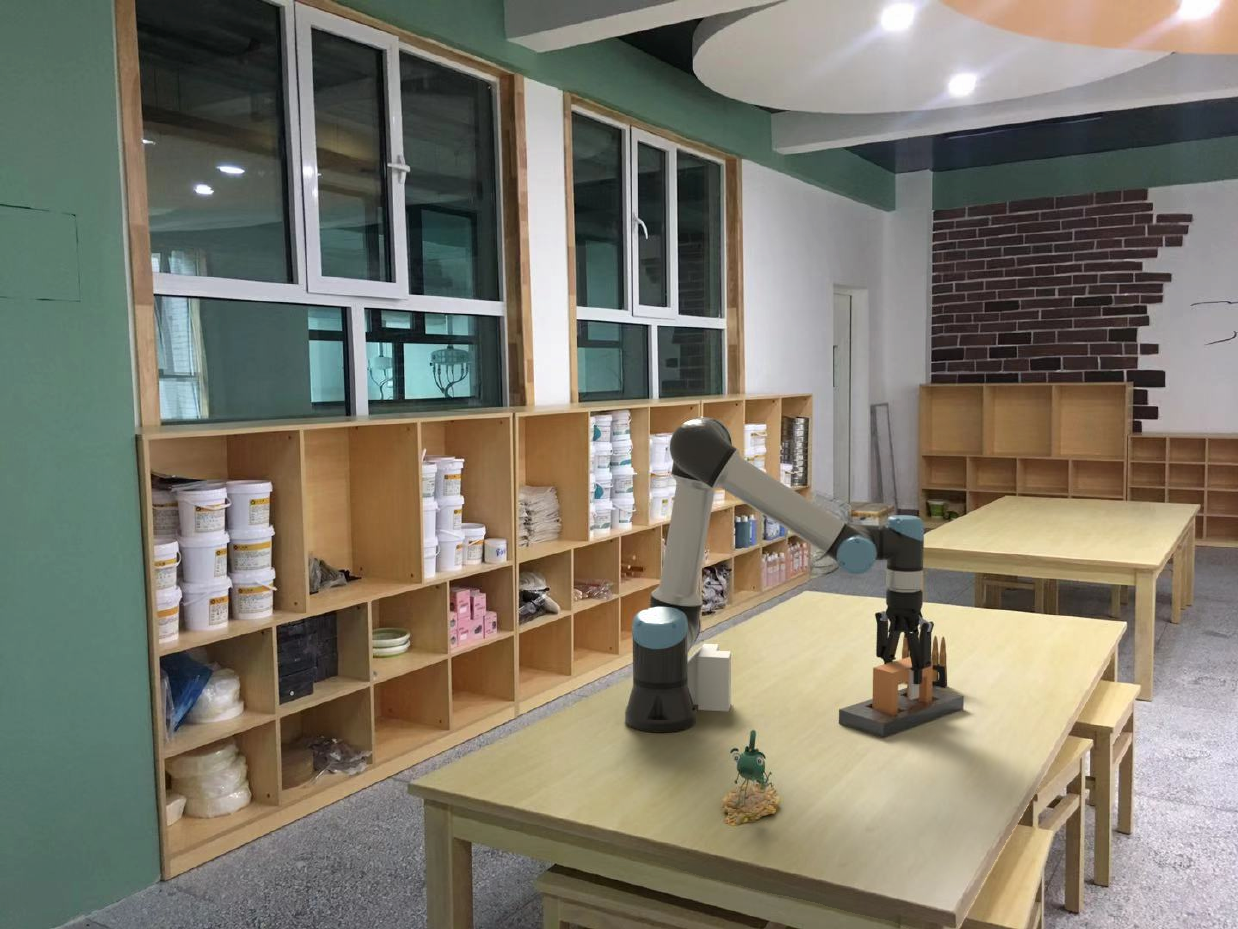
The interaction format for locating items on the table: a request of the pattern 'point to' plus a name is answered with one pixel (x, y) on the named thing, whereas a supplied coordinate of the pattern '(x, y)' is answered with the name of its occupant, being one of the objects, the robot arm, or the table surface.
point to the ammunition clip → (937, 659)
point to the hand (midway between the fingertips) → (902, 694)
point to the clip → (891, 677)
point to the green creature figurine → (750, 788)
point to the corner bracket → (710, 678)
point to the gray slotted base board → (900, 713)
